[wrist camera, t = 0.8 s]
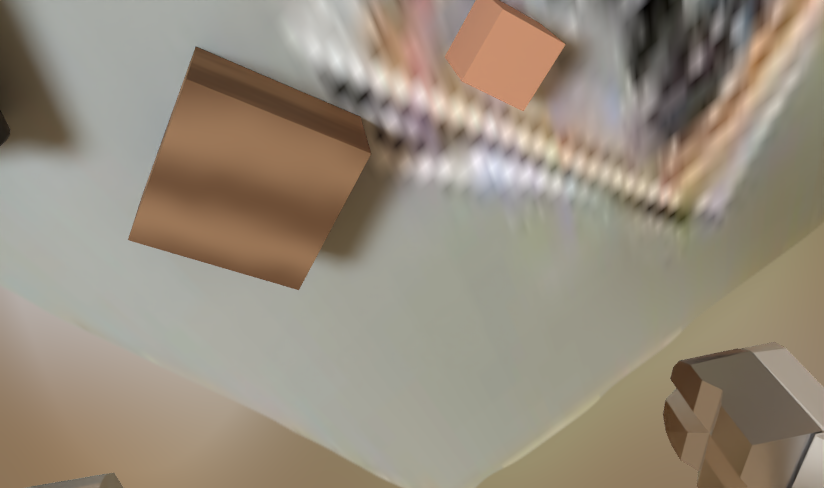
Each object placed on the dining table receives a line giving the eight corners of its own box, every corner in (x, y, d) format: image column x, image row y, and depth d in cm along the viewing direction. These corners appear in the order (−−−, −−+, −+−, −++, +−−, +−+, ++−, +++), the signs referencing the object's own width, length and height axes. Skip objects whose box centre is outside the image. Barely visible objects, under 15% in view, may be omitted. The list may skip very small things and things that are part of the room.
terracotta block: (481, -10, 43) (503, 9, 39) (539, 22, 45) (565, 44, 41) (444, 56, 45) (461, 81, 41) (501, 84, 47) (523, 111, 43)
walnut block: (195, 46, 42) (186, 78, 37) (360, 116, 47) (371, 153, 42) (142, 194, 47) (127, 240, 42) (296, 244, 52) (298, 289, 47)
